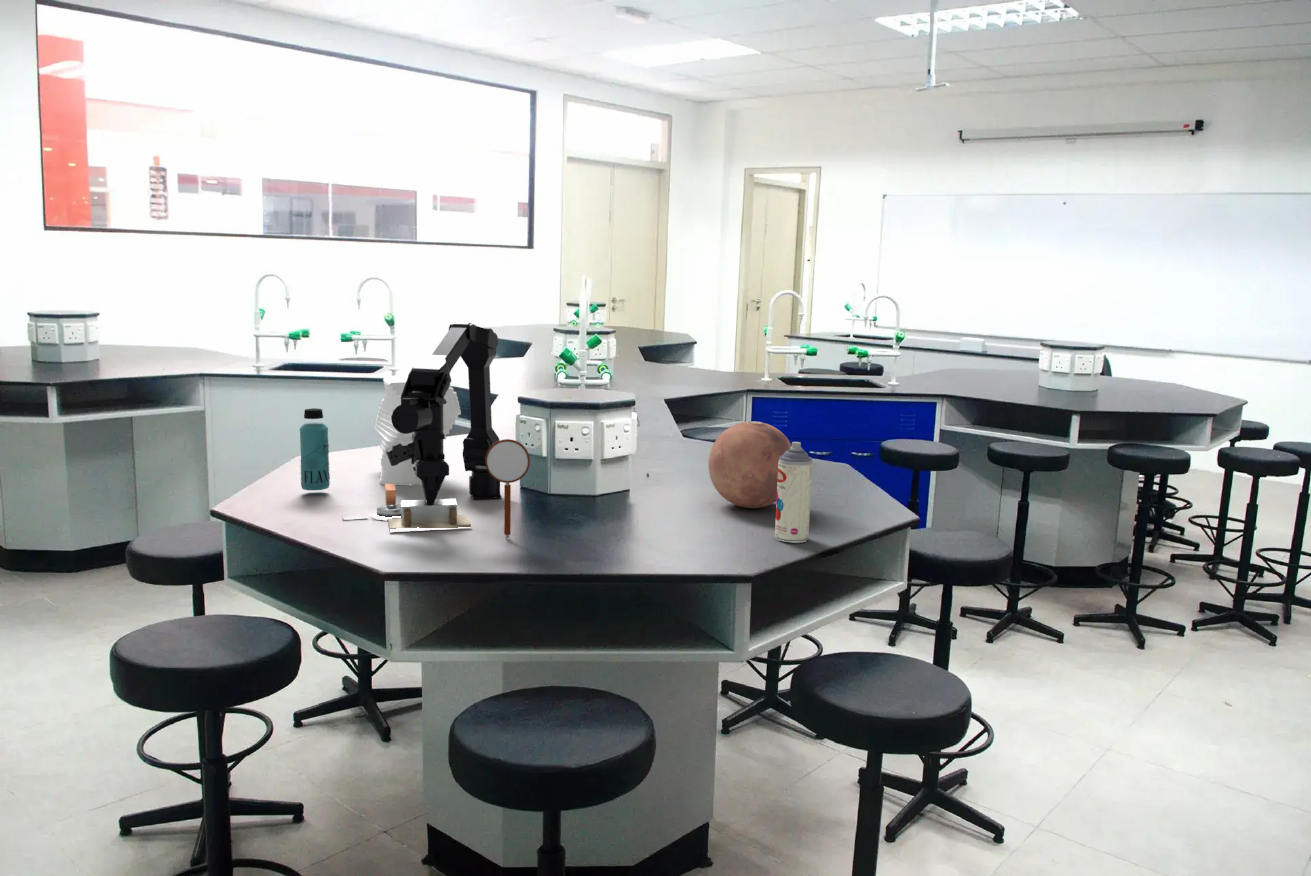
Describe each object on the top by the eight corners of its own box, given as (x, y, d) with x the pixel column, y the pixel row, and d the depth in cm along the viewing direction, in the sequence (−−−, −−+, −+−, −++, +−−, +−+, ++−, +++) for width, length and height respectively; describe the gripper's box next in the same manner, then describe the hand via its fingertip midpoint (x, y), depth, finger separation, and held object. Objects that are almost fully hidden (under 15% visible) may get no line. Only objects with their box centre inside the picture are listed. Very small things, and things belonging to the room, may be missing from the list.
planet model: (799, 501, 229) (803, 418, 226) (787, 520, 210) (792, 431, 207) (716, 494, 234) (720, 413, 231) (698, 512, 215) (701, 424, 212)
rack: (466, 519, 203) (466, 501, 202) (471, 529, 196) (471, 510, 195) (388, 523, 198) (387, 504, 198) (390, 533, 191) (389, 513, 190)
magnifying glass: (529, 538, 190) (530, 438, 187) (529, 540, 188) (529, 440, 185) (485, 537, 189) (485, 438, 186) (484, 540, 188) (484, 439, 184)
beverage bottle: (299, 497, 219) (296, 410, 215) (302, 491, 225) (299, 406, 222) (329, 496, 220) (327, 410, 217) (331, 490, 227) (329, 406, 223)
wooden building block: (403, 502, 214) (403, 483, 214) (407, 516, 202) (406, 495, 201) (375, 503, 212) (375, 484, 212) (377, 517, 200) (377, 497, 200)
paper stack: (373, 489, 228) (371, 382, 224) (374, 468, 254) (372, 371, 250) (463, 487, 234) (462, 382, 230) (455, 466, 260) (455, 371, 256)
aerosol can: (772, 534, 198) (777, 439, 195) (805, 535, 198) (810, 440, 195) (776, 543, 191) (781, 444, 188) (810, 544, 191) (816, 445, 188)
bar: (455, 516, 199) (455, 498, 198) (456, 522, 197) (457, 504, 195) (401, 518, 196) (400, 500, 195) (401, 524, 193) (401, 506, 192)
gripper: (385, 423, 200) (386, 496, 202) (389, 434, 182) (390, 514, 184) (439, 422, 203) (440, 494, 205) (449, 433, 186) (449, 512, 188)
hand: (429, 503), depth 195 cm, fingers closed on bar, 3 cm apart
